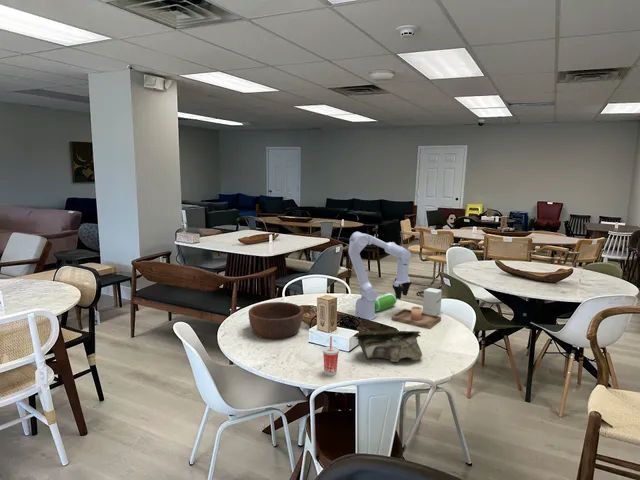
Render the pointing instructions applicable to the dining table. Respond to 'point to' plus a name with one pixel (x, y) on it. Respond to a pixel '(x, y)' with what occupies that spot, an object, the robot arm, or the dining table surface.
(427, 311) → the supplement box
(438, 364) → the dining table surface
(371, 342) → the mossy rock
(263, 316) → the wooden bowl
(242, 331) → the dining table surface
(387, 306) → the speaker
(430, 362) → the dining table surface
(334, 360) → the beverage cup
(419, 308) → the terracotta cup
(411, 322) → the walnut tray
